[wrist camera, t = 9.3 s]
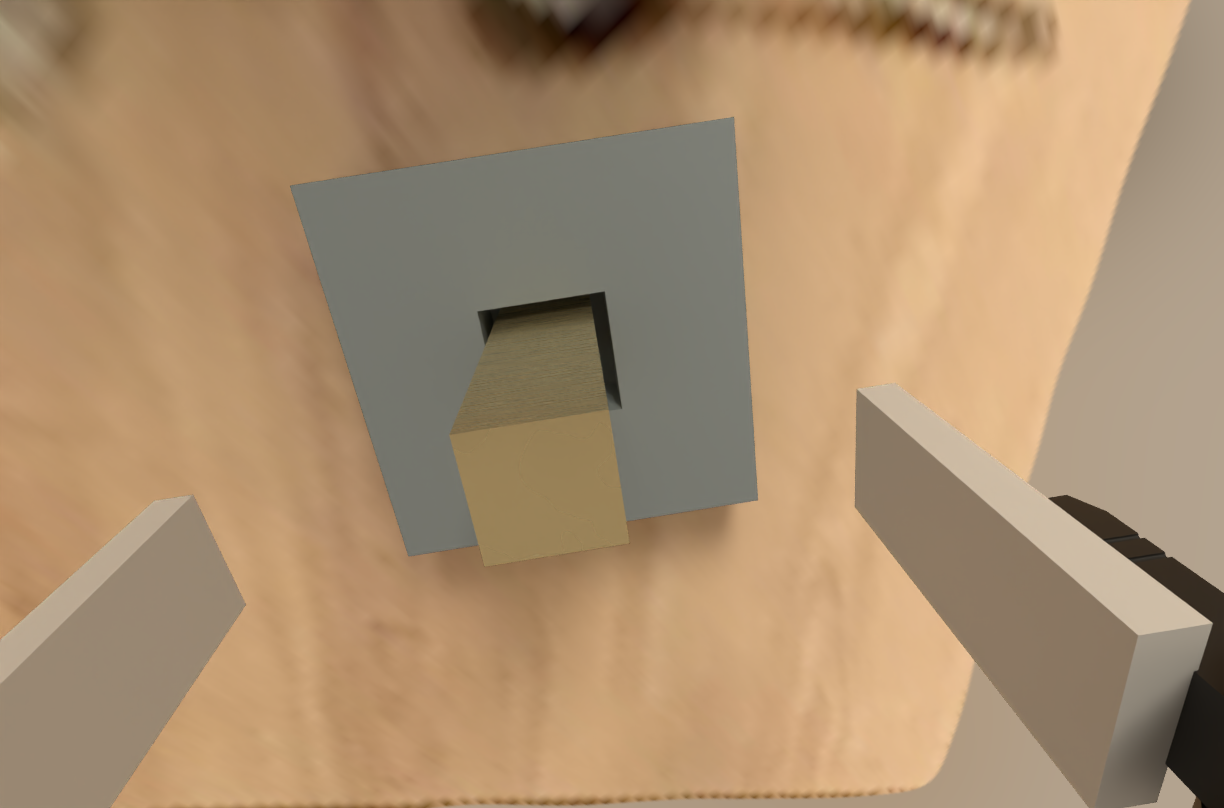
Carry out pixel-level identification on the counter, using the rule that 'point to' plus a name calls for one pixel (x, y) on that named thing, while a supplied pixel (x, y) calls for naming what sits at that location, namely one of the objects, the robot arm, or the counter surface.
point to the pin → (540, 438)
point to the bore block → (539, 271)
